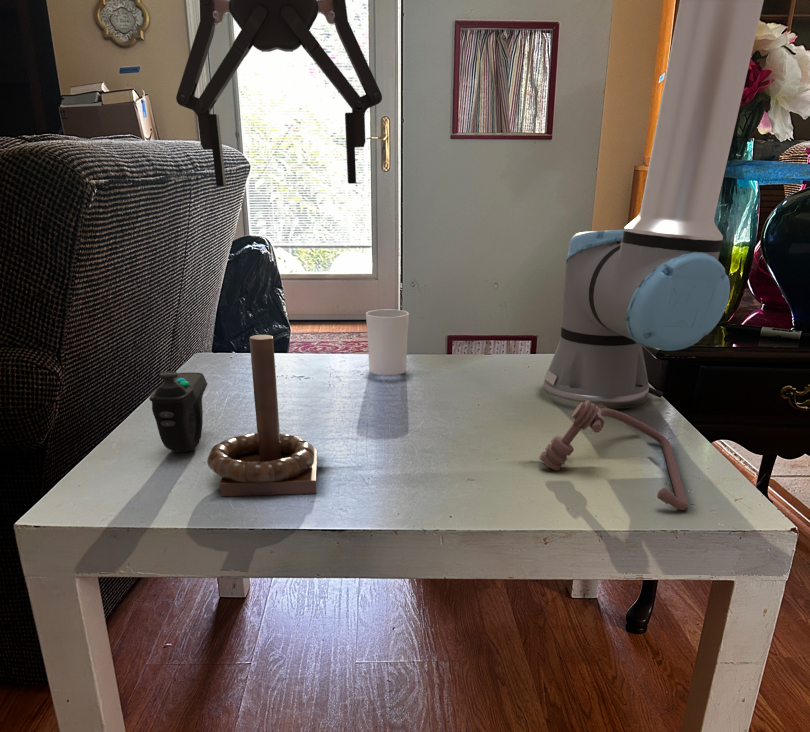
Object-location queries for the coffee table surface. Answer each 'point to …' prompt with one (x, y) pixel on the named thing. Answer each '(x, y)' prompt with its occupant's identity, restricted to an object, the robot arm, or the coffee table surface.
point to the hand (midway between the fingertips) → (287, 184)
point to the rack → (268, 430)
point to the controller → (179, 409)
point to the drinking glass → (387, 341)
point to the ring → (260, 471)
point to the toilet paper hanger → (593, 417)
